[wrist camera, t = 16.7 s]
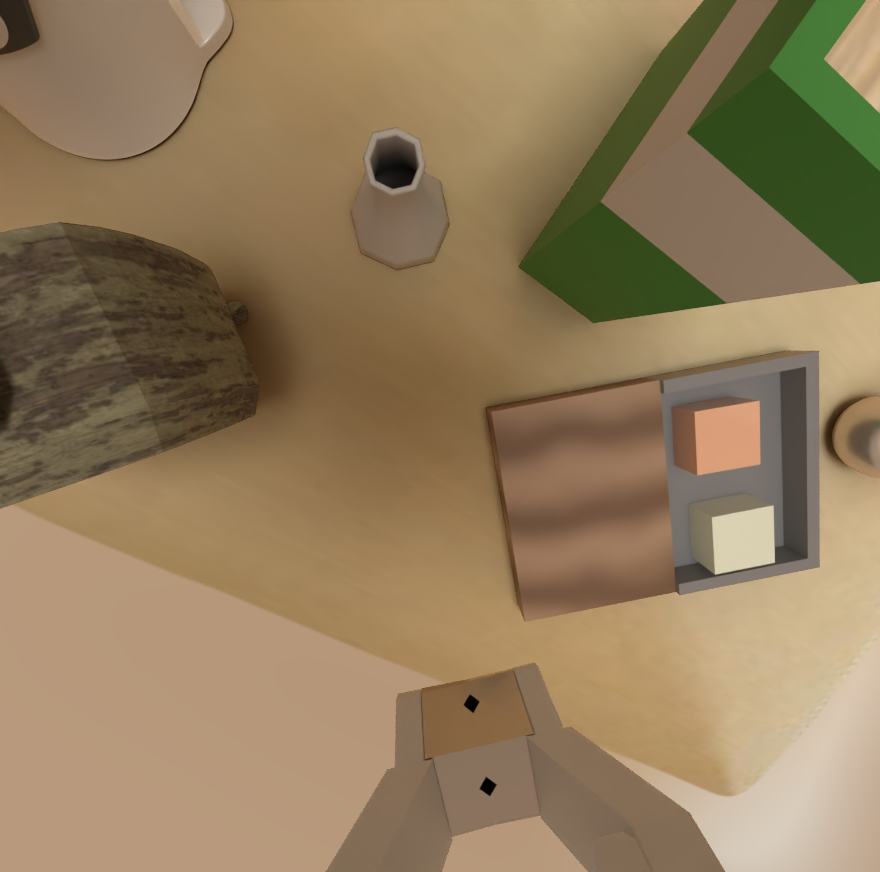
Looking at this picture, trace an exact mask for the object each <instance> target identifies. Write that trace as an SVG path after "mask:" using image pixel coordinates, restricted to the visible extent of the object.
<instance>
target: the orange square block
mask: <svg viewBox="0 0 880 872" xmlns="http://www.w3.org/2000/svg"><path fill="white" fill-rule="evenodd" d="M671 409H672V427H673V445H674V463H675V466H677V467H680V468H682V469H684V470H686V471H689V472H691V473H693V474H695V475H703V474H709V473H714V472H720V471H725V470H731V469H737V468H742V467H748V466H754V465H759V464H760V401H759V400H752V399H746V398H739V397H732V396H730V397H724V398H719V399H713V400H707V401H701V402H696V403H690V404H684V405H678V406H672V407H671Z"/></svg>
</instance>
